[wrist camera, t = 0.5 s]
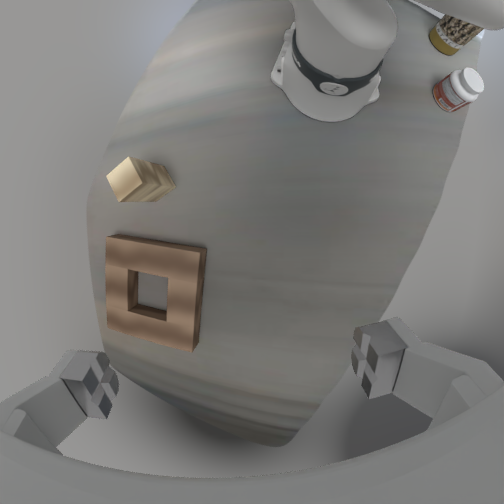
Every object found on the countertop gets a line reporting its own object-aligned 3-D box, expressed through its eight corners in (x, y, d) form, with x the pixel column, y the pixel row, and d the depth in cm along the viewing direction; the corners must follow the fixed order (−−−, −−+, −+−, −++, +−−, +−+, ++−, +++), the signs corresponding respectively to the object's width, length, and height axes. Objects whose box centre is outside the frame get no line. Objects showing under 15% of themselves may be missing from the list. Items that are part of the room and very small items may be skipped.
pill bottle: (453, 87, 35) (481, 68, 24) (459, 115, 36) (491, 100, 25) (429, 81, 36) (456, 59, 25) (435, 109, 37) (465, 91, 26)
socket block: (118, 234, 48) (106, 236, 44) (207, 248, 46) (199, 252, 42) (117, 320, 51) (107, 327, 47) (198, 342, 50) (192, 352, 46)
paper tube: (437, 28, 33) (487, -29, 8) (458, 50, 33) (517, 1, 8) (422, 36, 34) (476, -27, 9) (445, 60, 34) (509, 6, 10)
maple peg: (144, 180, 46) (106, 176, 34) (164, 166, 45) (128, 156, 33) (156, 201, 46) (119, 202, 34) (176, 187, 45) (142, 182, 33)
